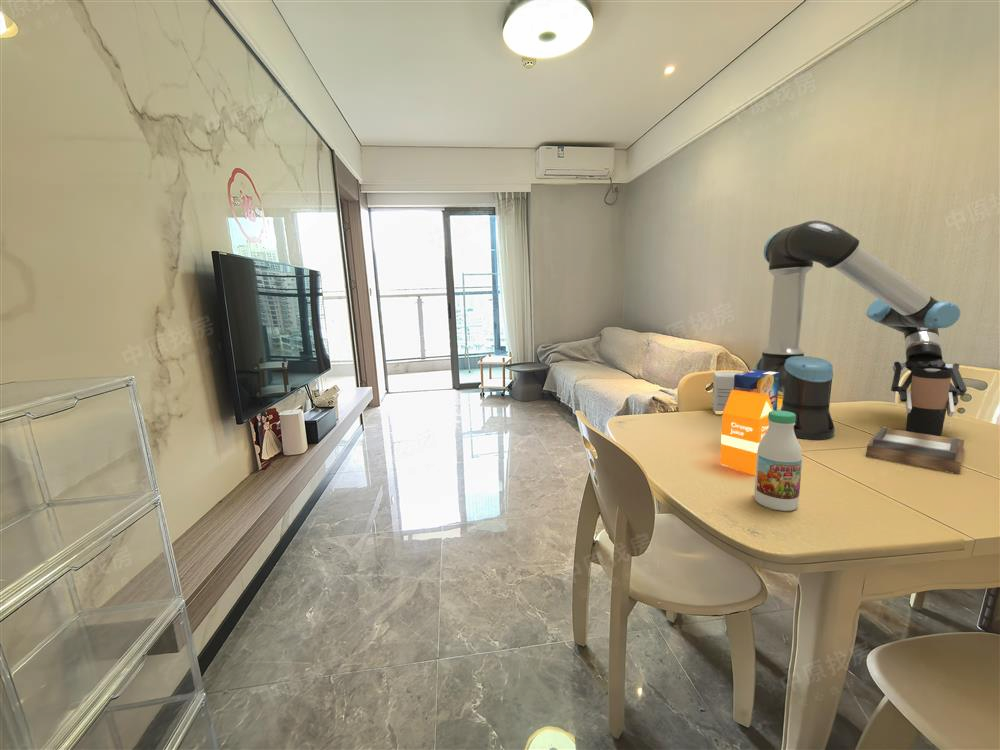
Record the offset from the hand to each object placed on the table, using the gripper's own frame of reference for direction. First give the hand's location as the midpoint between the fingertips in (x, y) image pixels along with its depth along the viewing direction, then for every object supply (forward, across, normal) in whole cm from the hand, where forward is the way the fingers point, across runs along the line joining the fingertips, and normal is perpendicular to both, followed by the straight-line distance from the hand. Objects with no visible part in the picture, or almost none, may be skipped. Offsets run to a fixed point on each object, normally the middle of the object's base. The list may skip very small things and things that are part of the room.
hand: (929, 412), depth 111 cm
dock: (+17, +5, +6) cm, 18 cm away
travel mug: (+3, 0, -8) cm, 8 cm away
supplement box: (+2, +51, -9) cm, 52 cm away
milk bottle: (+51, +34, +40) cm, 73 cm away
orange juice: (+39, +41, +28) cm, 62 cm away
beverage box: (+27, +40, +16) cm, 51 cm away
